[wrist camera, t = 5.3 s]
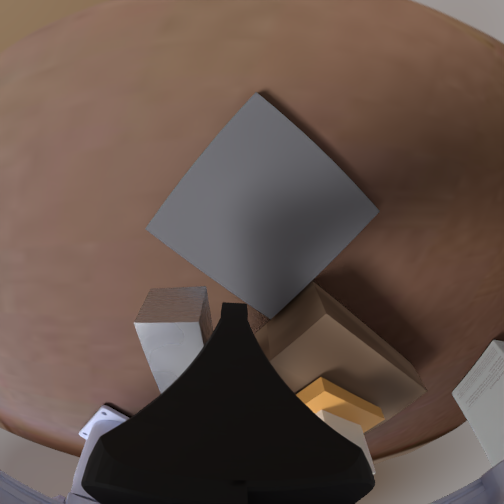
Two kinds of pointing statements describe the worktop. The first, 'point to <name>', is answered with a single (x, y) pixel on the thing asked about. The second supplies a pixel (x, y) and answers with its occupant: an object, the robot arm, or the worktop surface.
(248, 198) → the mat
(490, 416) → the supplement box
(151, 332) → the light grey long bar
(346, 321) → the socket block
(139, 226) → the worktop surface
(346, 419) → the plug
